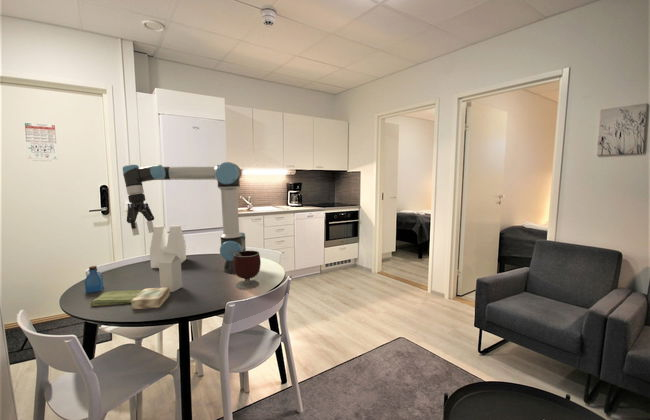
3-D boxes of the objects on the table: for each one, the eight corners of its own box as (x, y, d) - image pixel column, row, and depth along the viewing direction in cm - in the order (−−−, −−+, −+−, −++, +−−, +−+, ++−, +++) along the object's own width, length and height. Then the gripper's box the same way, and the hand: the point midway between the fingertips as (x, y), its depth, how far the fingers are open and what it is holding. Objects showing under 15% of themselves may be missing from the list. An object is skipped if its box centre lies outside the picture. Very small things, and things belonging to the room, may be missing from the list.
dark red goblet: (252, 278, 171) (251, 243, 169) (266, 285, 161) (265, 248, 159) (226, 285, 160) (224, 248, 158) (239, 293, 150) (238, 253, 148)
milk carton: (172, 292, 151) (170, 255, 149) (160, 291, 152) (158, 254, 150) (182, 287, 158) (180, 251, 156) (170, 286, 159) (168, 250, 157)
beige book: (169, 295, 147) (169, 287, 147) (159, 307, 134) (158, 298, 133) (145, 296, 145) (144, 288, 145) (132, 309, 132) (131, 300, 131)
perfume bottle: (85, 293, 150) (83, 269, 149) (88, 289, 155) (86, 266, 154) (101, 291, 153) (99, 267, 151) (103, 287, 158) (101, 264, 157)
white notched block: (177, 267, 193) (174, 228, 190) (151, 268, 190) (148, 228, 188) (186, 259, 212) (184, 223, 209) (162, 260, 209) (160, 224, 207)
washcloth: (133, 304, 137) (133, 298, 137) (89, 308, 134) (88, 301, 134) (144, 294, 150) (144, 287, 150) (104, 296, 147) (103, 290, 146)
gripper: (143, 196, 173) (151, 232, 174) (112, 195, 148) (121, 237, 149) (156, 193, 173) (163, 230, 174) (127, 192, 148) (136, 234, 149)
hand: (144, 233), depth 161 cm, fingers open, 13 cm apart
